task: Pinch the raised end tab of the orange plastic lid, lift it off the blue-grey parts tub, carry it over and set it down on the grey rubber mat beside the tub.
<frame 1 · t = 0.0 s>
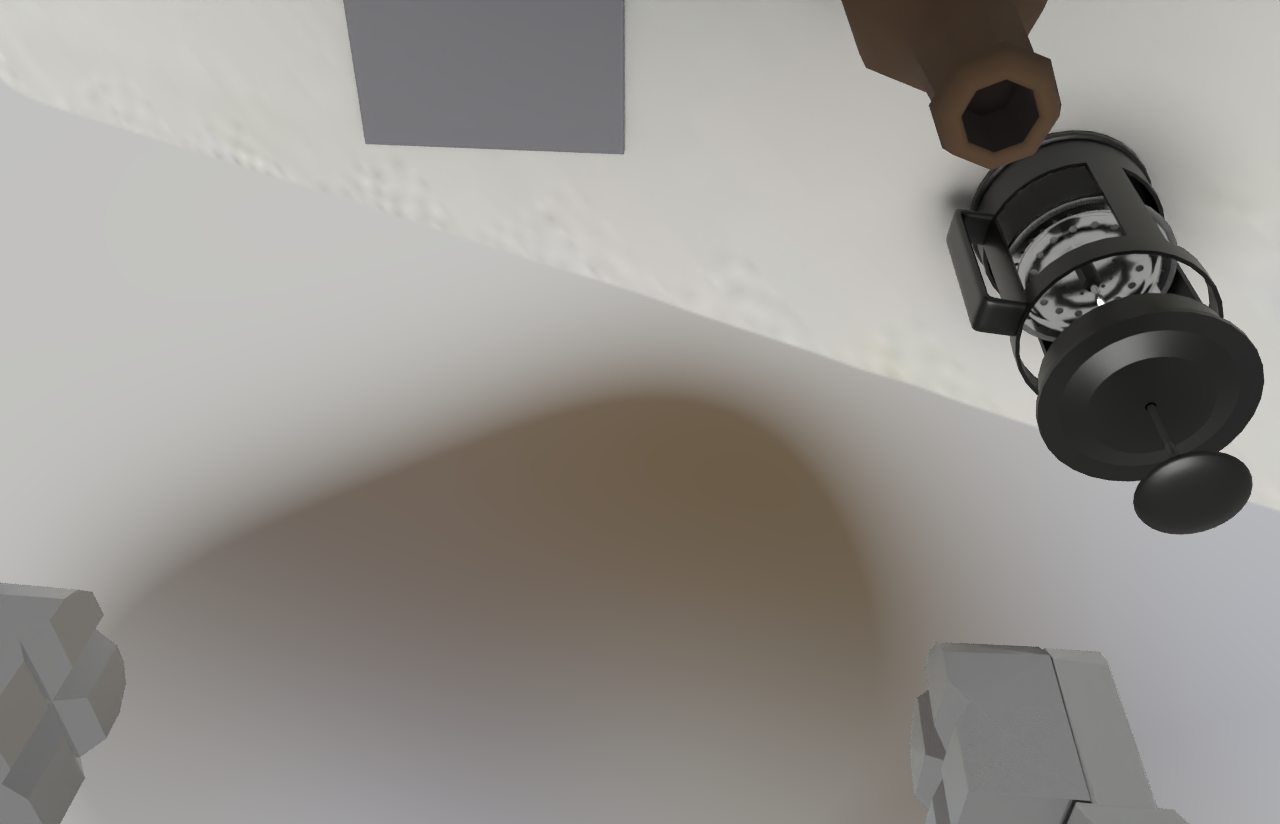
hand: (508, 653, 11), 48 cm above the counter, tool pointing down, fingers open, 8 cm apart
french press: (1047, 209, 59), on the counter
mat: (487, 44, 56), on the counter
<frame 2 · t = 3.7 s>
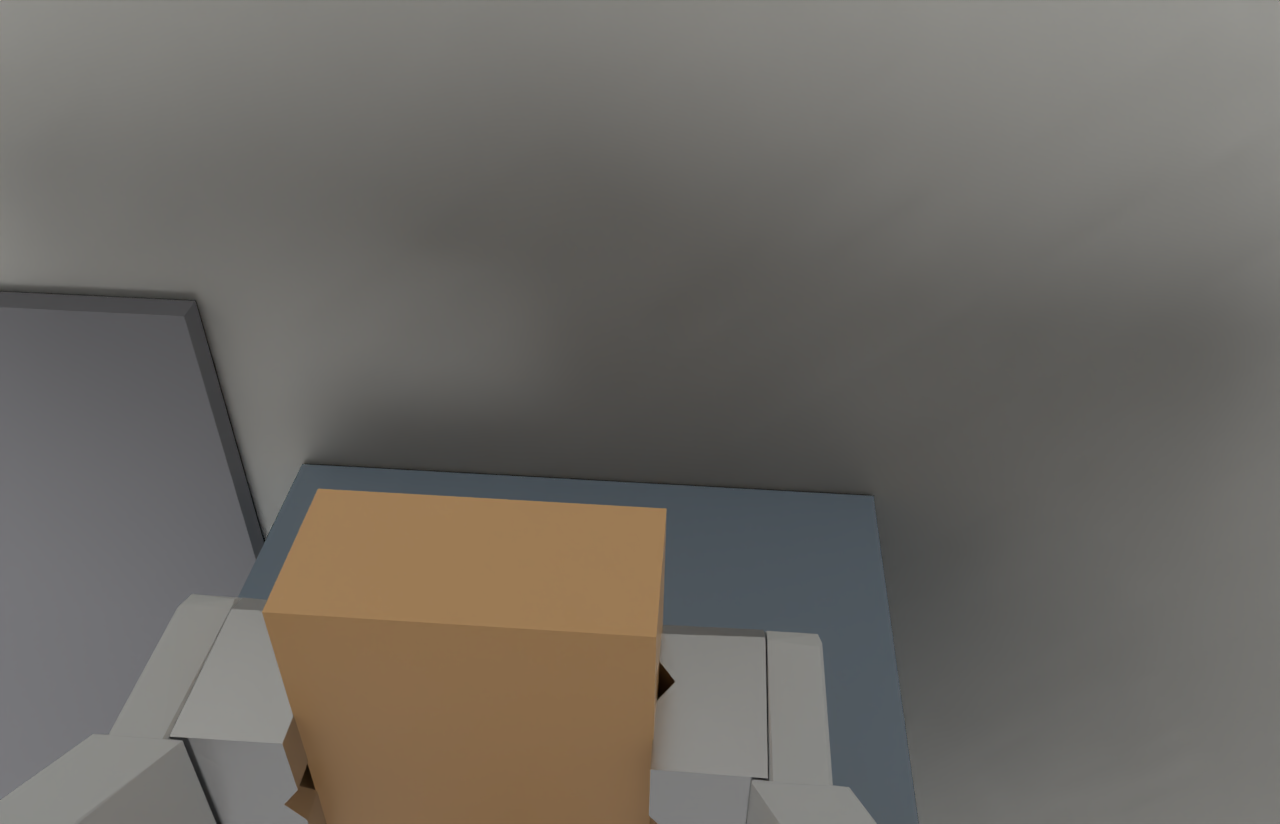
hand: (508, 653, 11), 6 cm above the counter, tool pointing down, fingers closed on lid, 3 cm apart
tub: (592, 747, 22), on the counter
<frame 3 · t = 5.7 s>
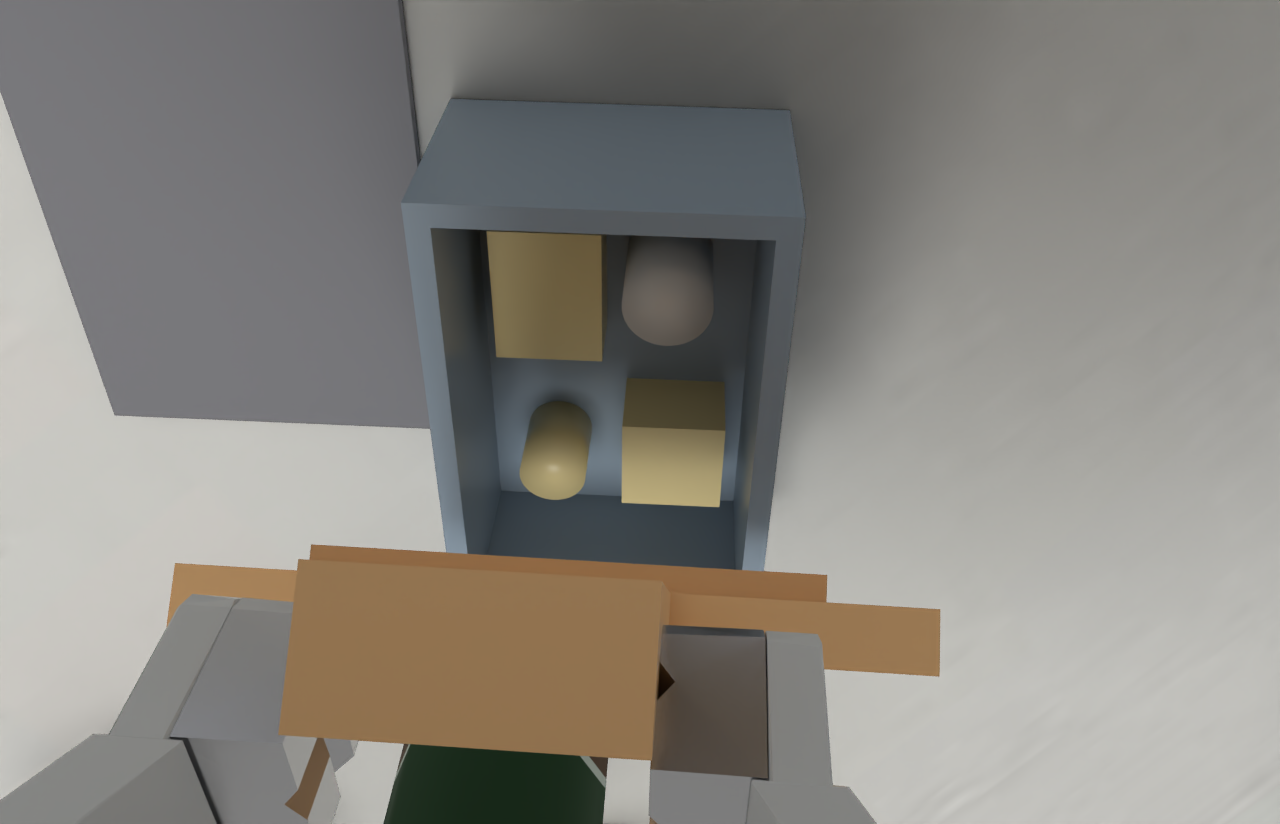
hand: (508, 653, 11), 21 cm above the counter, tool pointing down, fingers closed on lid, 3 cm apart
beer bottle: (518, 674, 44), on the counter
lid: (597, 596, 21), point 14 cm above the counter, tilted 42°, touching gripper
tub: (618, 326, 33), on the counter
mat: (240, 224, 32), on the counter
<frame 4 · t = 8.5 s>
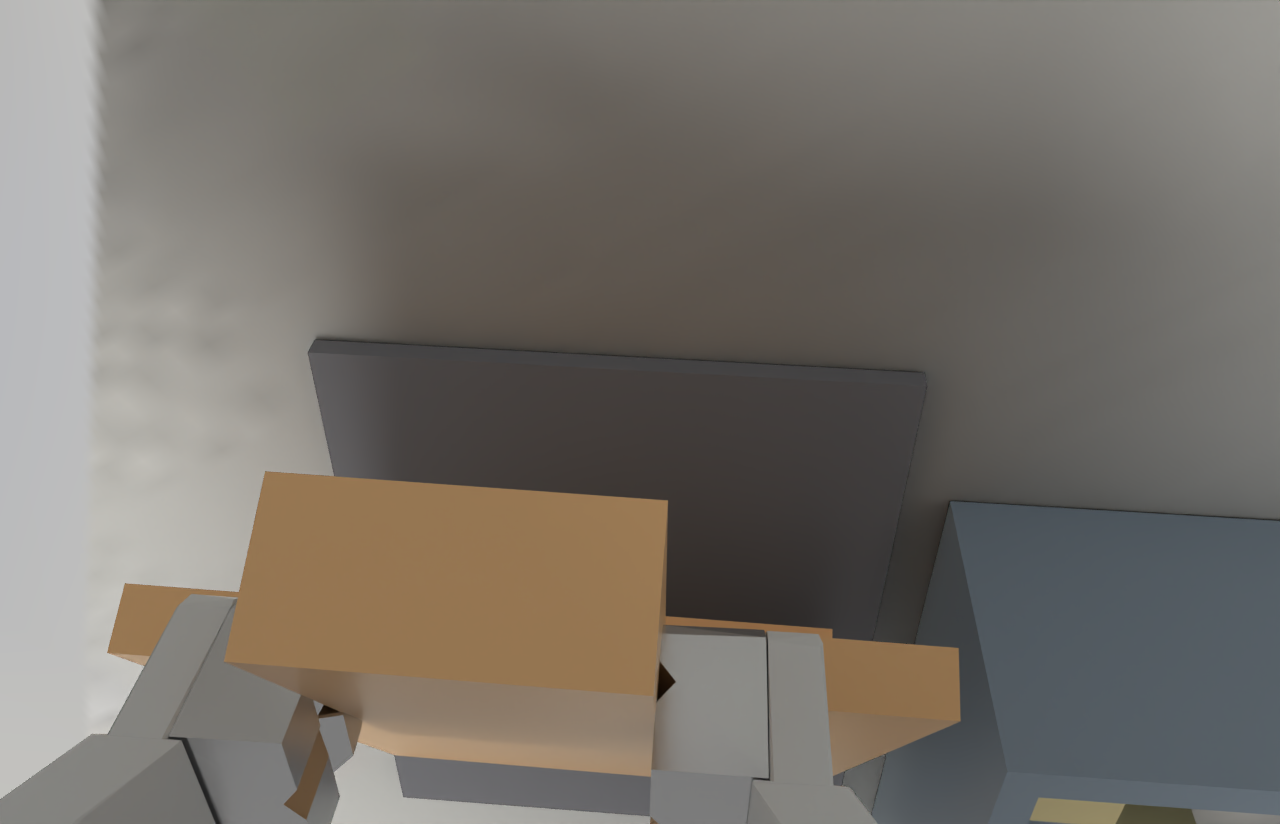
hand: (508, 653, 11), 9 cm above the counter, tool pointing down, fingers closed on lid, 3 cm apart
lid: (578, 697, 19), point 4 cm above the counter, tilted 30°, touching gripper, mat
tub: (1091, 737, 25), on the counter
mat: (615, 617, 24), on the counter
when the fingers open (3 cm above the counter, at t = 9.9 s): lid stays where it is, resting on mat.
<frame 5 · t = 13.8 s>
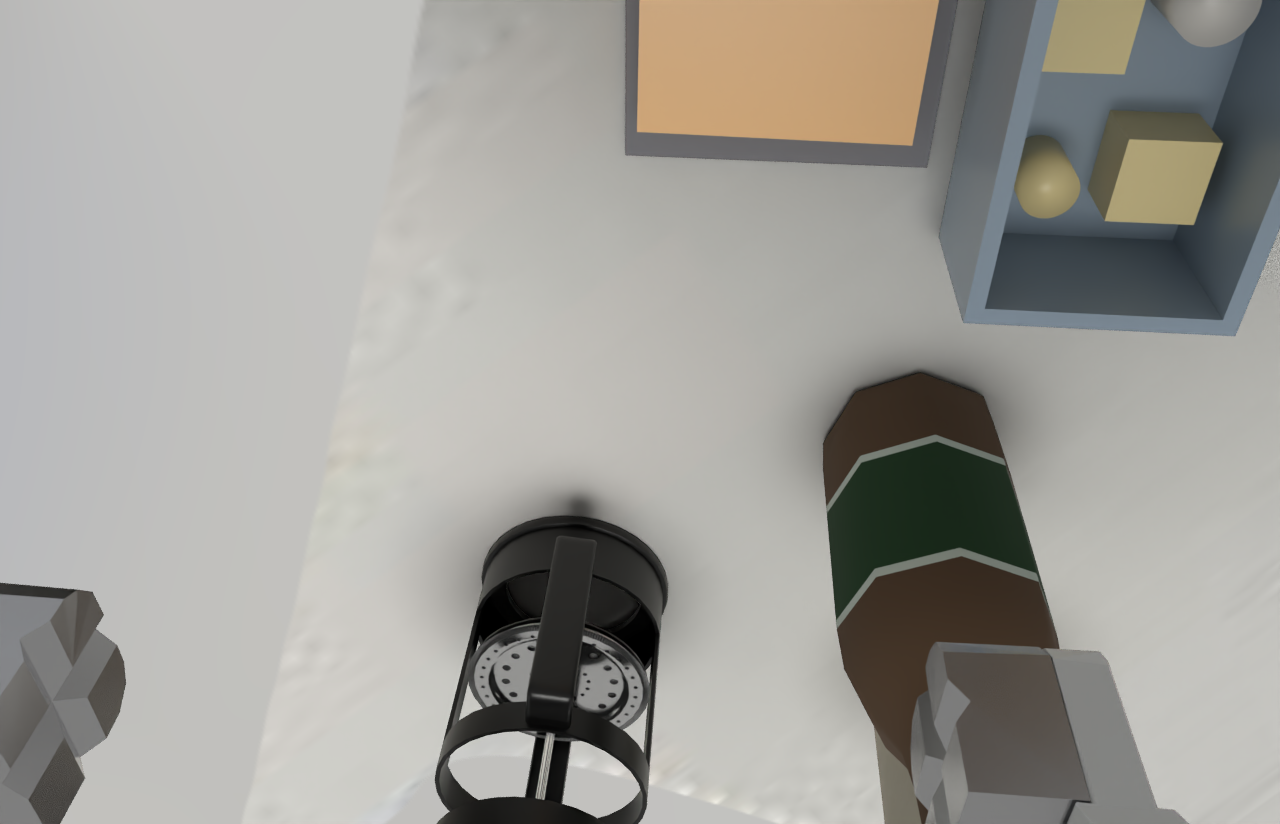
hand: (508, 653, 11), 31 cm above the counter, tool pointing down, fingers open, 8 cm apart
travel mug: (944, 649, 57), on the counter
beer bottle: (909, 436, 48), on the counter
french press: (576, 573, 55), on the counter
tub: (1108, 60, 37), on the counter
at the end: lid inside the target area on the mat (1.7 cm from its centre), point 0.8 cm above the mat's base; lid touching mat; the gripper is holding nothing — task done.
